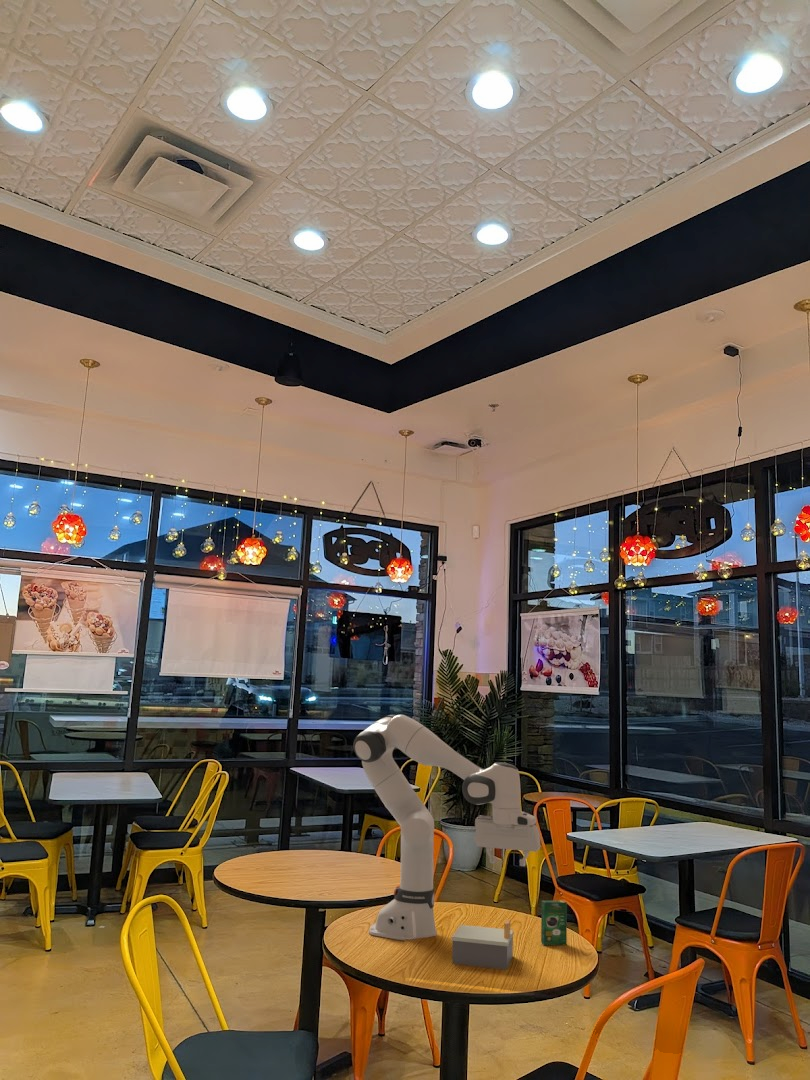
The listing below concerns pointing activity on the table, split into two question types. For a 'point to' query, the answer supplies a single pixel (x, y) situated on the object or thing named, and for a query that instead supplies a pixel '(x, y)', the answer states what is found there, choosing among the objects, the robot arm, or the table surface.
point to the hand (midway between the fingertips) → (507, 864)
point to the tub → (482, 954)
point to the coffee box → (554, 923)
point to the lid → (484, 934)
